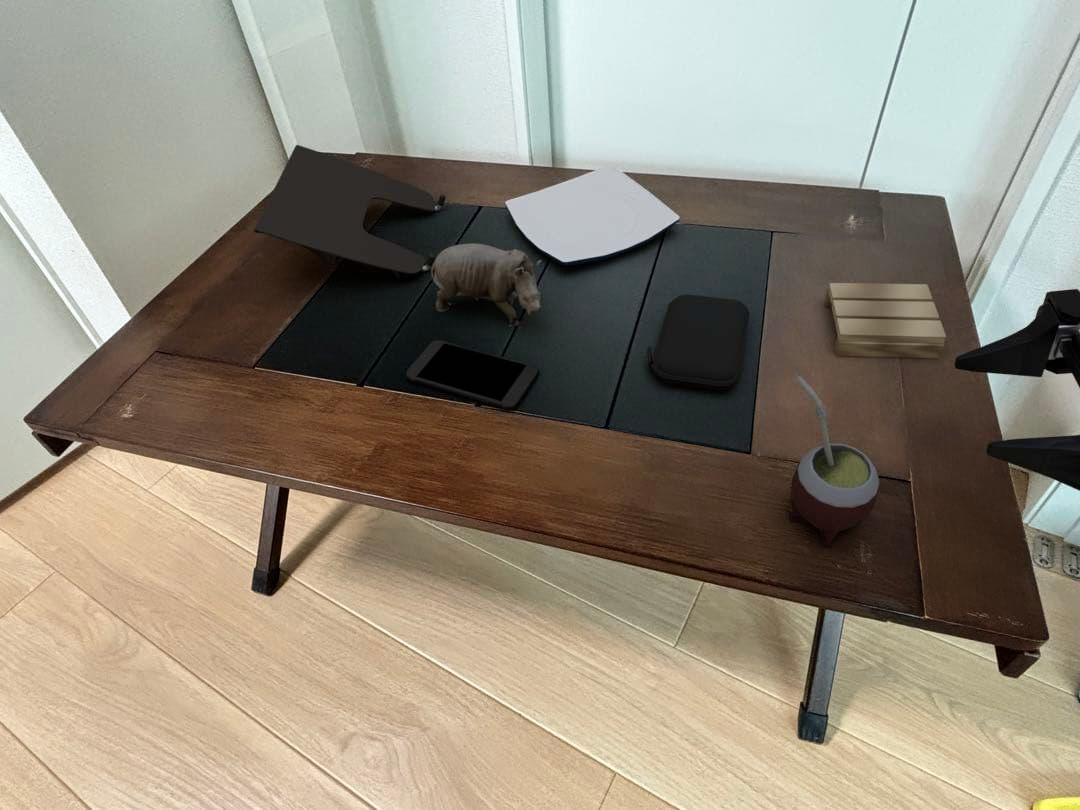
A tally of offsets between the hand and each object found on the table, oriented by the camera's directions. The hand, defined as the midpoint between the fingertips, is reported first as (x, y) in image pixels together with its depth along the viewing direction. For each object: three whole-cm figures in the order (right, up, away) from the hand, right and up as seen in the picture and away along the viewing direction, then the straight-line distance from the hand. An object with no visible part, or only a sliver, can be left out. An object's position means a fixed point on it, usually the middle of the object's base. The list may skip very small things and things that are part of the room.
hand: (970, 403), depth 56 cm
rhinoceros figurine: (-39, +12, +37) cm, 55 cm away
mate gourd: (-7, -11, +12) cm, 18 cm away
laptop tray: (-58, +24, +51) cm, 81 cm away
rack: (+6, +9, +29) cm, 31 cm away
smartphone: (-41, +3, +29) cm, 51 cm away
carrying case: (-15, +6, +29) cm, 33 cm away
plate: (-26, +26, +49) cm, 61 cm away
